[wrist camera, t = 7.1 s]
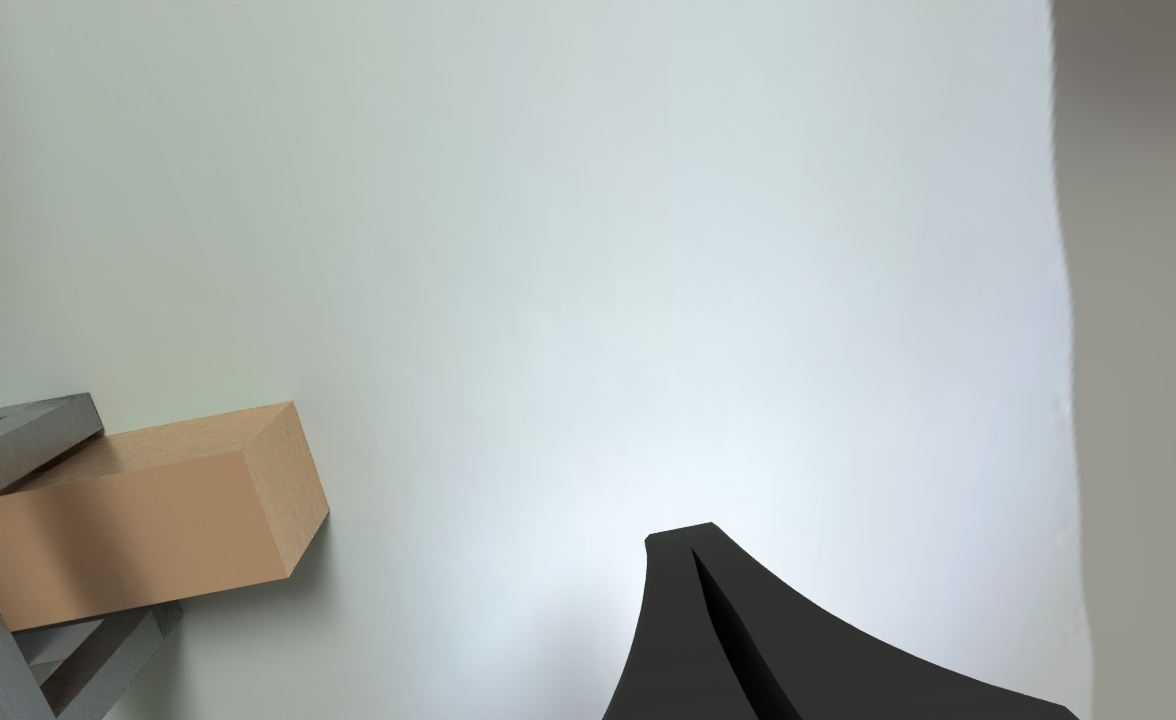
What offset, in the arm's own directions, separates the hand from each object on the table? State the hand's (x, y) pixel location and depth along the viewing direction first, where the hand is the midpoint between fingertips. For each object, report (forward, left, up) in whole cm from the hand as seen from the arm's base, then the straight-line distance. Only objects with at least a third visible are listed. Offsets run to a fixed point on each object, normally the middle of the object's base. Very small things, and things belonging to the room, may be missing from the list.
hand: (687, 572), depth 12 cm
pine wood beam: (0, +17, -10) cm, 20 cm away
